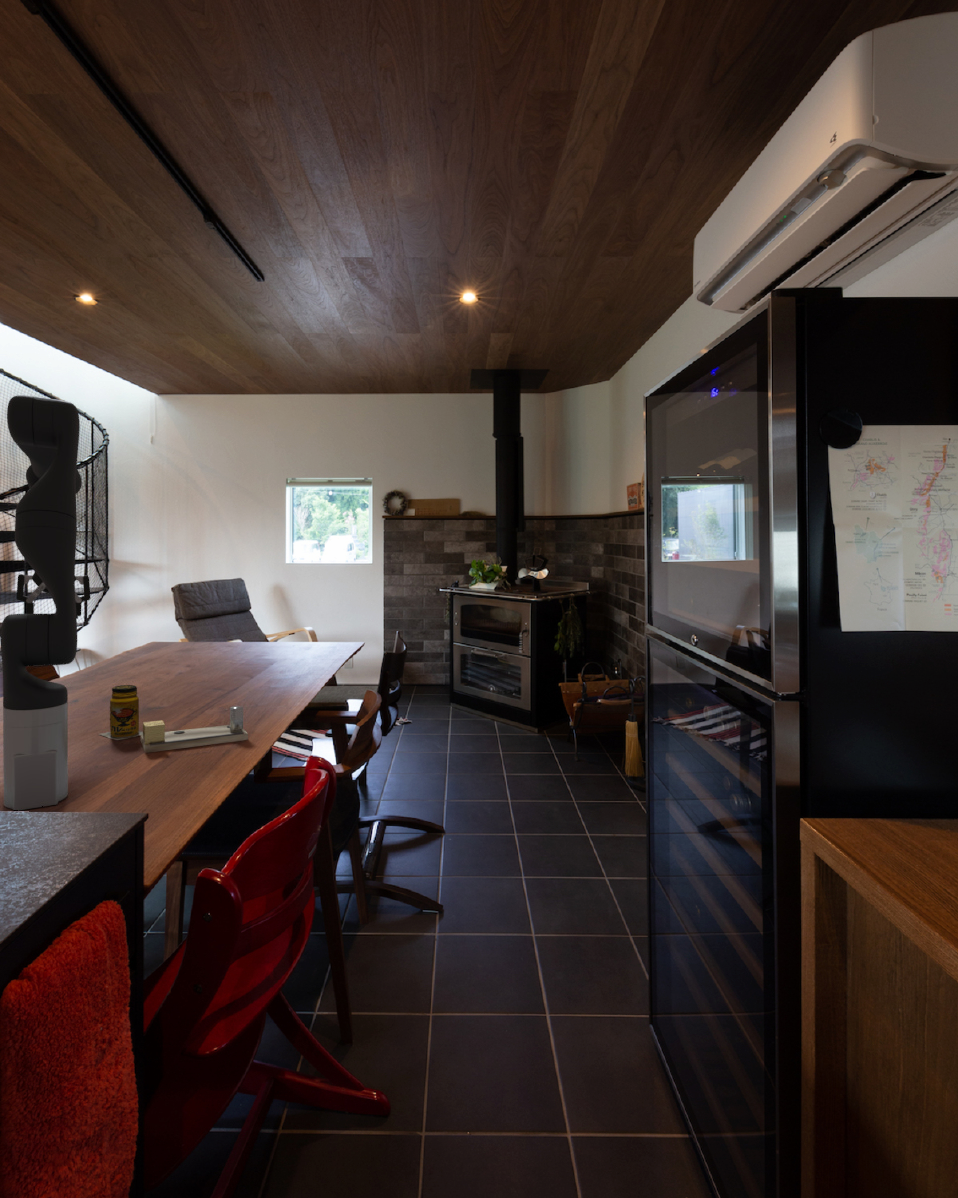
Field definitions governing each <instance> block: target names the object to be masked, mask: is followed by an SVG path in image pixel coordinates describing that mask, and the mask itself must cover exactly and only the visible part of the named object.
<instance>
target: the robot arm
mask: <svg viewBox="0 0 958 1198" xmlns="http://www.w3.org/2000/svg"><path fill="white" fill-rule="evenodd" d="M6 422H7V429H8V432H9V435H10V437H11V439H12V440H13V442H14V443H15V445H17V446H18V448H19V449H20V450H21V451H22V453H24V455H25V456H26V457H27V458H28V459H29V462H30V465H29V466H28V467H27V469H26V472H25V478H26V483H27V486H28V489H27V491H26V492H25V493H24V495H23V496H22V497H21V499H20V500H19V501H18V503H17V506H16V507H15V515H14V516H15V518H14V542H15V543H14V544H15V545H16V548H17V549H18V551H19V552H20V554H21V555H22V557H23V559H24V560H25V561H26V562H27V564H28V565H29V566H30V567H31V568H32V569H33V571H34V573H33V574H32V575H29V574H24V573H23V574H22V573H20V574H18V575H17V583H16V584H17V585H16V597H15V598H16V600H17V601H20V602H24V603H25V605H26V607H25V608H26V611H25V613H11V614H7V615H6V616H5V617H4V618H3V620H2V623H1V624H0V625H1V626H0V654H1V656H0V657H1V665H2V666H1V667H2V714H3V715H2V730H3V731H2V737H3V738H2V742H3V743H2V747H3V750H2V751H3V752H2V753H3V755H2V756H3V760H2V761H3V767H2V768H3V770H2V771H3V805H4V807H6V808H7V809H11V810H12V811H13V810H18V811H23V810H24V811H25V810H29V809H37V808H43V807H48V806H54V805H55V806H56V805H58V803H59V802H60V801H63V800H64V799H66V798H67V796H68V795H69V794H68V793H69V788H68V787H69V786H68V782H69V778H68V777H69V774H68V773H69V771H68V770H69V769H68V767H69V764H68V763H69V762H68V756H69V754H68V752H69V751H68V750H69V747H68V746H69V745H68V743H69V741H68V739H69V738H68V732H69V731H68V729H69V727H68V725H69V724H68V720H69V719H68V716H69V714H68V712H69V711H68V709H69V706H68V705H69V704H68V703H69V701H68V699H69V697H68V696H69V695H68V689H67V687H66V686H65V685H63V684H61V683H58V682H53V681H51V680H46V679H42V678H39V677H37V676H35V675H33V674H32V673H31V672H29V671H28V670H27V668H28V667H46V666H47V667H48V666H63V665H69V664H72V663H73V662H74V660H75V658H76V656H77V650H78V623H77V619H78V618H79V617H81V616H82V603H83V602H86V601H89V600H91V587H90V586H91V585H90V583H91V582H90V577H89V575H86V574H85V575H77V576H76V575H75V573H76V572H75V571H76V570H75V569H76V556H77V555H76V554H77V553H76V551H77V536H78V535H77V534H78V533H77V528H78V527H77V525H78V523H77V522H78V520H77V519H78V517H77V494H79V492H80V491H81V489H82V485H83V484H82V483H83V481H82V476H81V474H80V471H79V470H78V454H79V453H78V452H79V444H80V426H81V425H80V414H79V410H78V408H77V407H76V405H75V404H74V403H72V402H71V401H66V400H61V399H54V398H48V397H41V396H33V395H23V394H22V395H20V394H19V395H14V396H12V397H11V398H10V399H9V401H8V404H7V408H6ZM31 580H32V581H33V583H34V584H35V585H36V586H37V587H36V588H35V589H34V590H33V591H32V593H31V594H30V595H29V596H26V595H24V594H25V593H24V592H25V585H27V584H29V582H30V581H31ZM76 581H77V582H79V584H80V585H82V587H83V595H82V596H79V595H78V594H77V592H76V583H75V582H76ZM42 592H43V593H46V594H50V597H51V599H52V601H53V604H54V607H55V612H54V613H35V604H34V601H35V600H36V599H37V598H38V597H39V595H40V594H41V593H42ZM42 806H43V807H42Z"/></svg>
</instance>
